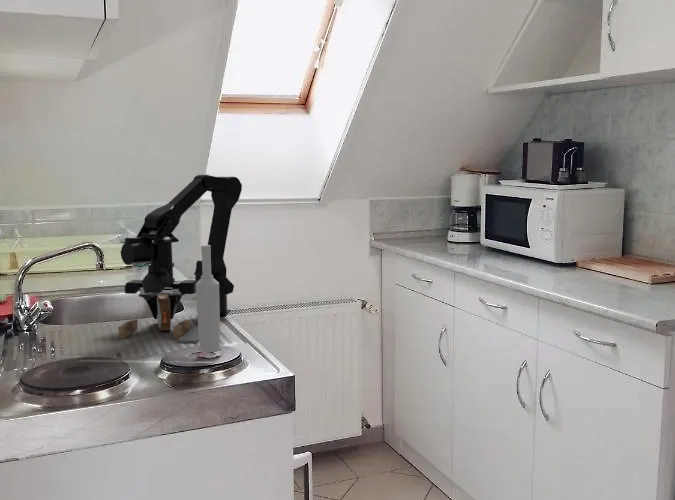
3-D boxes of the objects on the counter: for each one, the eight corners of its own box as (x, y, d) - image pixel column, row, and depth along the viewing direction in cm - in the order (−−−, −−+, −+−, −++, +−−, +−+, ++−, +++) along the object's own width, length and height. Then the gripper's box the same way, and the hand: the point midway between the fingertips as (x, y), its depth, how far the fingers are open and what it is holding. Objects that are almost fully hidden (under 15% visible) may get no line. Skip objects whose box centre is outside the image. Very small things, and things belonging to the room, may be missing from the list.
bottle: (226, 353, 159) (221, 244, 156) (214, 359, 154) (210, 247, 151) (206, 351, 160) (201, 244, 157) (194, 357, 156) (189, 246, 153)
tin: (171, 334, 178) (172, 301, 177) (158, 334, 177) (160, 301, 176) (166, 322, 192) (167, 291, 191) (154, 322, 191) (156, 291, 190)
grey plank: (197, 327, 185) (197, 325, 185) (215, 327, 184) (215, 325, 184) (177, 342, 169) (177, 340, 169) (197, 342, 169) (197, 340, 169)
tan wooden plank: (133, 329, 183) (132, 318, 183) (190, 330, 182) (189, 319, 181) (119, 338, 174) (118, 326, 174) (178, 339, 173) (178, 327, 172)
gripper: (113, 264, 175) (117, 325, 177) (185, 265, 173) (188, 326, 175) (131, 259, 186) (134, 316, 188) (199, 259, 184) (201, 316, 186)
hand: (163, 319), depth 184 cm, fingers closed on tin, 4 cm apart
